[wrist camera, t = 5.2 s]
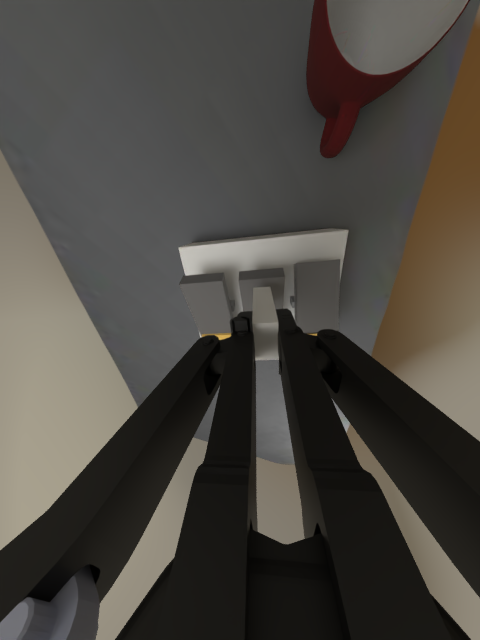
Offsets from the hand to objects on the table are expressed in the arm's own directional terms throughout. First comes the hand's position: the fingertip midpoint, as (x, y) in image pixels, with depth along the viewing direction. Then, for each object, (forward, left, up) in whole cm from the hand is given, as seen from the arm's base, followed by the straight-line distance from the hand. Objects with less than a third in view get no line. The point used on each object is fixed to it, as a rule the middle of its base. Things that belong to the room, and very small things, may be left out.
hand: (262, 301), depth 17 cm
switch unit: (+3, 0, -12) cm, 12 cm away
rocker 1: (+3, -6, -4) cm, 8 cm away
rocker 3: (+3, +6, -4) cm, 8 cm away
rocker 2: (+3, 0, -4) cm, 5 cm away
